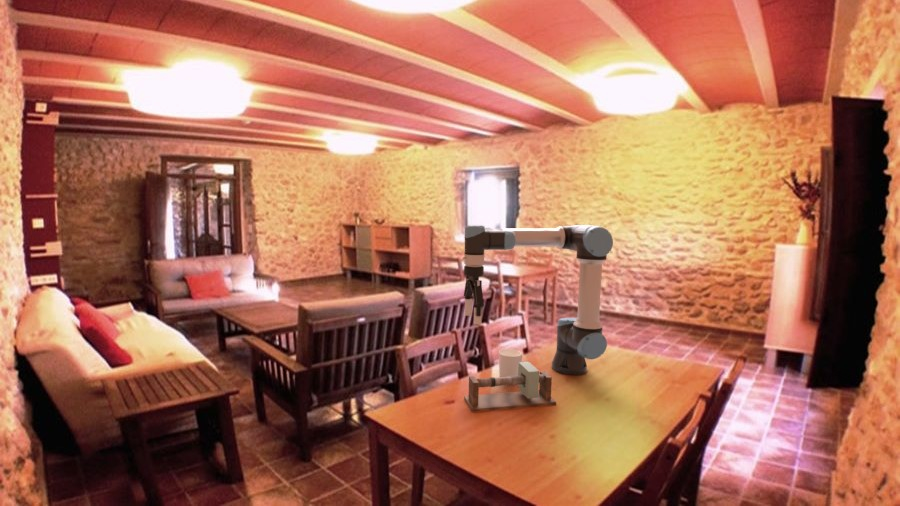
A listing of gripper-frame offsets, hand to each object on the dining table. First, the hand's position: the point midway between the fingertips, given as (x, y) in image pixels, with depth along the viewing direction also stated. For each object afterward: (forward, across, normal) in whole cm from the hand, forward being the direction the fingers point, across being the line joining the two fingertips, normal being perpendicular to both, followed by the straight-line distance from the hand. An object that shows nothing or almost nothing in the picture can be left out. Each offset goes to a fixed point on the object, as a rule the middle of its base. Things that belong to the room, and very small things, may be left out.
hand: (472, 319), depth 173 cm
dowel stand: (+28, +14, +11) cm, 33 cm away
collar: (+25, +14, +18) cm, 34 cm away
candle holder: (+28, -6, +18) cm, 34 cm away
